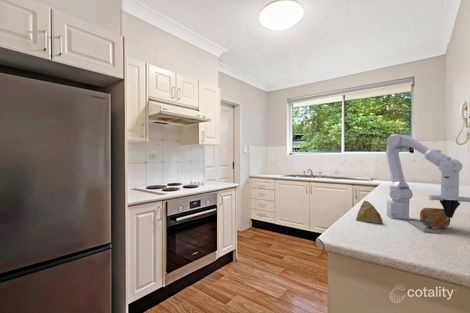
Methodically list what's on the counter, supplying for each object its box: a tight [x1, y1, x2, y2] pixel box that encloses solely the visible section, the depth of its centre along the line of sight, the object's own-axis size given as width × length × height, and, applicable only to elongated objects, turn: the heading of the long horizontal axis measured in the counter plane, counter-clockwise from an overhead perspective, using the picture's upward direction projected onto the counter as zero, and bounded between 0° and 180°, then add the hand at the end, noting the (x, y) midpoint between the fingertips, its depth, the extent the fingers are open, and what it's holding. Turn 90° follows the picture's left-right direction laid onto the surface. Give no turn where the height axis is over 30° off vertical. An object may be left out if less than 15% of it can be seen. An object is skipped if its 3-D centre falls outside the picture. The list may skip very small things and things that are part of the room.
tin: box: [419, 207, 451, 229], centre depth 103 cm, size 15×3×8 cm, turn 103°
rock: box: [355, 200, 384, 224], centre depth 111 cm, size 11×9×10 cm
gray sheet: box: [407, 220, 442, 235], centre depth 103 cm, size 6×15×1 cm, turn 163°
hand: (449, 217), depth 101 cm, fingers closed
